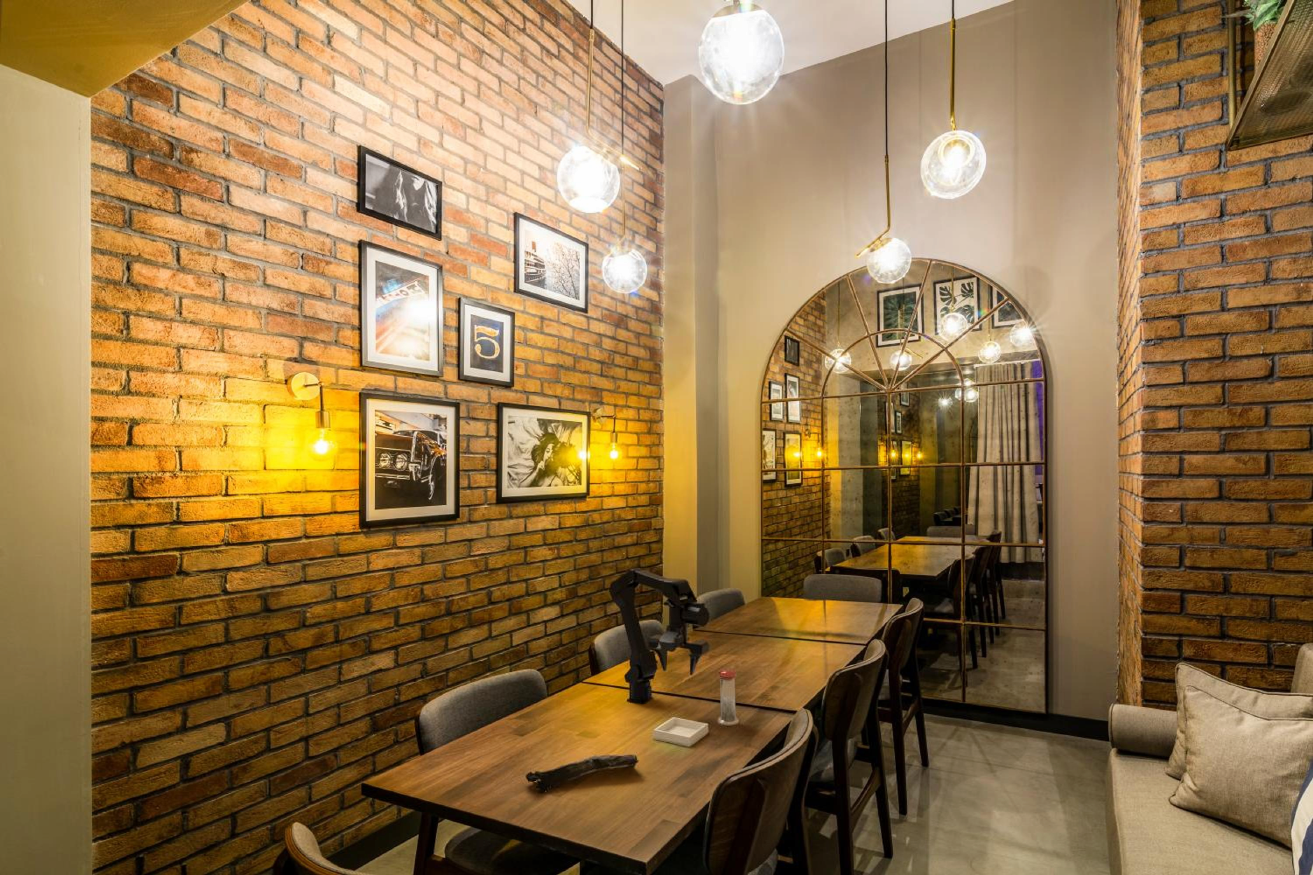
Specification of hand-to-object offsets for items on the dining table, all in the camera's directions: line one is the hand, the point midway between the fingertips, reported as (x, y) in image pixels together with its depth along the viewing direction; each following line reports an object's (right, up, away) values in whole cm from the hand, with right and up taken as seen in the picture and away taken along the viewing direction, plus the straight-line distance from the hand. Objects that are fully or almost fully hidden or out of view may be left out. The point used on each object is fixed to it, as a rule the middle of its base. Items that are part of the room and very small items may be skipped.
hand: (678, 672), depth 204 cm
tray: (0, -11, -20) cm, 22 cm away
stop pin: (+14, -11, -9) cm, 20 cm away
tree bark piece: (-24, -10, -44) cm, 52 cm away
